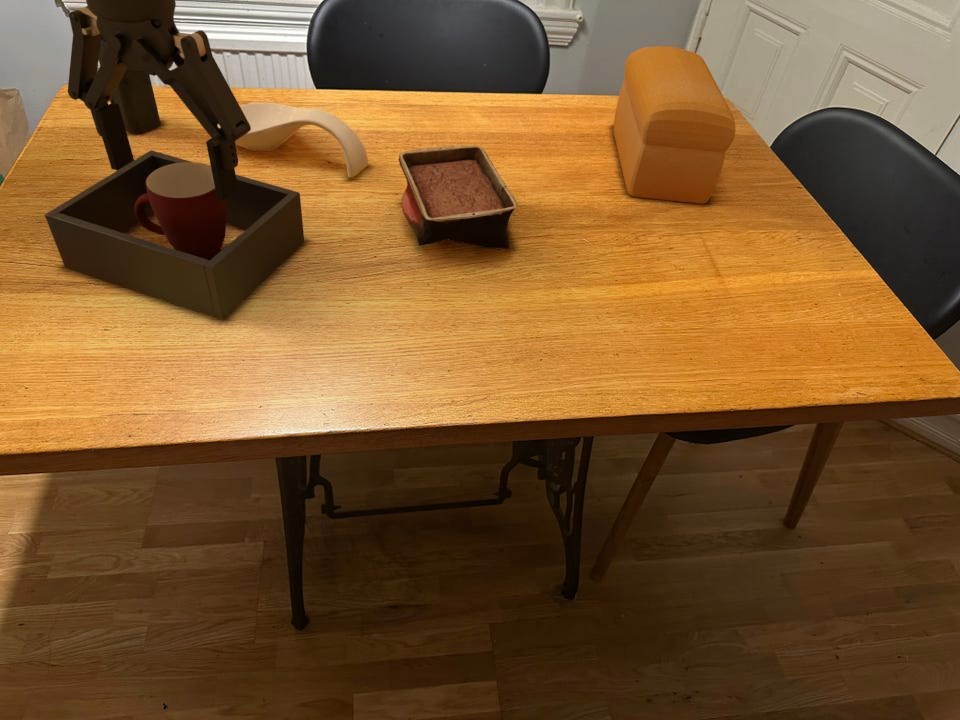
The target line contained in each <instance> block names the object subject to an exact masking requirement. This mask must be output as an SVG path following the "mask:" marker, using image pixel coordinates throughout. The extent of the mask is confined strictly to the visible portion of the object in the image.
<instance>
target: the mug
mask: <svg viewBox="0 0 960 720" xmlns="http://www.w3.org/2000/svg"><path fill="white" fill-rule="evenodd" d="M146 189H147V194H143V195H141V196H140V197H139V198H138V199H137V201H136V203H135V206H134V212H135V216H136V218H137V220H138V222H139V223H138V224H139V225H141V227H143V229H145V230H147V231H149V232H151V233H153V234H156V235H159V236H160V235H161V236H165V238H166V240H167V242H168V243H169V245H170V246H171V248H172V249H175V250H178V251H181V252H185V253H188V254H191V255H194V256H197V257H200V258H204V259H207V260H209V261H210V260H211V259H212V258H213V257H215V256H216V255H217V254H218V253H219V252H221V250H222V248H223V245H224V242H225V239H226V235H227V223H226V209H227V200H226V199H225V200H224V201H223V200H219V199H217V195H216V190H215V185H214V180H213V175H212V170H211V165H210V164H206V163H204V162H198V161H197V162H196V161H191V162H180V163H174V164H169V165H166V166H163V167H160V168H158V169H156V170H155V171H153V172H152V173H151V174H150V175H149V176H148V177H147V179H146ZM146 204H151V207H152V209H153V214H154V216H155V218H156V220H157V222H158V224H157V223H156V222H154V221H152V220H151V219H150V217H149V216H147V215H146V212H145V205H146Z"/></svg>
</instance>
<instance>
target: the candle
mask: <svg viewBox="0 0 960 720" xmlns="http://www.w3.org/2000/svg"><path fill="white" fill-rule="evenodd" d="M107 45H108V44H107V42H106V40H105V39H104V38H103V36H102V37H101V46H100V53H99V61H98V64H99V67H100V66H101V64H102V61H101V58H102V56H103V54H104V52H105V50H106V47H107ZM152 83H153V82H152V79H151V75H149V74H146V73H145V72H143V71H141V70H139V71H133V70H129V69H128V68H127V70H126V71H125V73H124V75H123V77H122V79H121V81H120V83H119V85H118V87H117V88H116V90H115V92H114V94H113V96H112V98H114V97H115V99H113V100H111V101H109V104H111V103H116V104H119V107H120V111H121V115H122V118H123V122H124V125H125V129H126V132H128V133H129V134H132V135H140V134H143V133H145V132H149V131H151V130H154V129H157V128H160V126H161V125H162V124H161V118H160V115H159V110H158V106H157V101H156V97H155V92H154V88H153V84H152Z"/></svg>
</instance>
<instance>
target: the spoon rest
mask: <svg viewBox="0 0 960 720" xmlns="http://www.w3.org/2000/svg"><path fill="white" fill-rule="evenodd" d="M239 106H240V108H241V109H242V111H243V113H244V115H245V117H246V119H247V121H248V122H249V124H250V127H251V130H250V131H249V132H248V133H246V134H245V135H243V136H242V137H241V138H239V139H237V140H236V141H235V144H236V146H238V147H241V148H244V149H246V150H249V151H251V152H252V151H253V152H269V151H273V150H275V149H278V148H279V147H281V146H282V145H283V144H284V143H285V142H287V141H288V140H289V139H290V138H291V137H292V136H293V135H295V134H296V132H297V131H299V130H300V129H302V128H303V127H305V126H315V127H318V128H320V129H322V130H324V131H325V132H327V133H328V134H330V135H331V136H332V137H334V138H335V140H336V141H337V143H338V144H339V145H340V147H341V149H342V151H343V155H344V159H345V164H346V174H347V176H348V177H349V178H354V177H355V176H357V175H358V174H359V173H361V172H362V171H363V170H364V169H365V168H367V167H368V165H369V160H368V159H369V158H368V153H367V150H366V148H365V146H364V144H363V142H362V140H361V139H360V137H359V136H358V134H357V133H356V132H355V131H354V129H352V128H351V127H350V126H349V125H348V124H347V123H346V122H344V121H343V120H342V119H340V118H339V117H337V116H336V115H335V114H333V113H331V112H328V111H326V110H324V109H318V108H306V107H298V106H292V105H288V104H283V103H278V102H265V101H264V102H263V101H262V102H249V103H244V104H239ZM218 128H221V127H220V125H219V124H218Z"/></svg>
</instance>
